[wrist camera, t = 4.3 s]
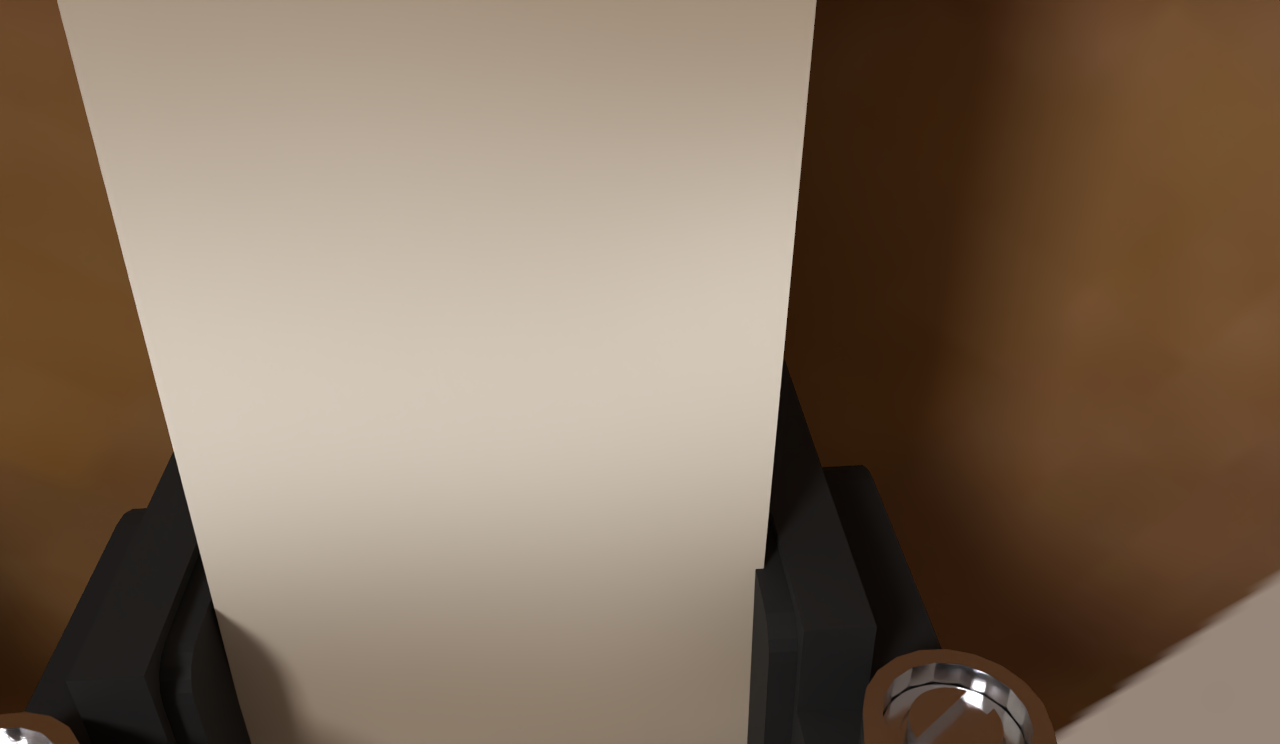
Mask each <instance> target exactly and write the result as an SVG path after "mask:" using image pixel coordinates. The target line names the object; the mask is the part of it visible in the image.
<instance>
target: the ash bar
mask: <svg viewBox="0 0 1280 744" xmlns="http://www.w3.org/2000/svg"><path fill="white" fill-rule="evenodd" d="M816 1H817V0H57V2H58V5H59V9H60V13H61V17H62V21H63V25H64V29H65V32H66V36H67V40H68V44H69V48H70V52H71V56H72V60H73V63H74V67H75V71H76V75H77V79H78V83H79V87H80V90H81V94H82V98H83V102H84V106H85V110H86V114H87V118H88V121H89V125H90V129H91V133H92V137H93V141H94V145H95V148H96V152H97V156H98V160H99V164H100V168H101V172H102V176H103V179H104V183H105V187H106V191H107V195H108V199H109V203H110V206H111V210H112V214H113V218H114V222H115V226H116V230H117V234H118V237H119V241H120V245H121V249H122V253H123V257H124V261H125V264H126V268H127V272H128V276H129V280H130V284H131V288H132V292H133V295H134V299H135V303H136V307H137V311H138V315H139V319H140V322H141V326H142V330H143V334H144V338H145V342H146V346H147V350H148V353H149V357H150V361H151V365H152V369H153V373H154V377H155V380H156V384H157V388H158V392H159V396H160V400H161V404H162V408H163V411H164V415H165V419H166V423H167V427H168V431H169V435H170V438H171V442H172V446H173V450H174V454H175V458H176V462H177V466H178V469H179V473H180V477H181V481H182V485H183V489H184V493H185V496H186V500H187V504H188V508H189V512H190V516H191V520H192V524H193V527H194V531H195V535H196V539H197V543H198V547H199V551H200V554H201V558H202V562H203V566H204V570H205V574H206V578H207V582H208V585H209V589H210V593H211V597H212V601H213V605H214V609H215V612H216V616H217V620H218V624H219V628H220V632H221V636H222V640H223V643H224V647H225V651H226V655H227V659H228V663H229V667H230V670H231V674H232V678H233V682H234V686H235V690H236V694H237V698H238V701H239V705H240V708H241V711H242V715H243V718H244V721H245V724H246V728H247V731H248V734H249V737H250V741H251V744H747V736H748V715H749V694H750V673H751V652H752V631H753V610H754V589H755V569H763V568H764V560H765V549H766V538H767V527H768V517H769V506H770V495H771V484H772V474H773V463H774V452H775V441H776V431H777V420H778V409H779V398H780V388H781V377H782V366H783V355H784V345H785V334H786V323H787V312H788V302H789V291H790V280H791V269H792V259H793V248H794V237H795V226H796V216H797V205H798V194H799V183H800V173H801V162H802V151H803V140H804V130H805V119H806V108H807V97H808V87H809V76H810V65H811V54H812V44H813V33H814V22H815V11H816Z"/></svg>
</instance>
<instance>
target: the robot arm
mask: <svg viewBox="0 0 1280 744" xmlns="http://www.w3.org/2000/svg"><path fill="white" fill-rule="evenodd" d="M0 744H251V741H250V737H249V734H248V731H247V728H246V724H245V721H244V718H243V715H242V711H241V708H240V705H239V701H238V698H237V694H236V690H235V686H234V682H233V678H232V674H231V670H230V667H229V663H228V659H227V655H226V651H225V647H224V643H223V640H222V636H221V632H220V628H219V624H218V620H217V616H216V612H215V609H214V605H213V601H212V597H211V593H210V589H209V585H208V582H207V578H206V574H205V570H204V566H203V562H202V558H201V554H200V551H199V547H198V543H197V539H196V535H195V531H194V527H193V524H192V520H191V516H190V512H189V508H188V504H187V500H186V496H185V493H184V489H183V485H182V481H181V477H180V473H179V469H178V466H177V462H176V458H175V454H174V452H173V454H172V456H171V458H170V460H169V462H168V464H167V467H166V469H165V471H164V473H163V475H162V477H161V479H160V481H159V484H158V486H157V488H156V490H155V492H154V494H153V496H152V499H151V501H150V503H149V505H148V507H147V508H143V509H132V510H130V511H128V512H127V513H125V514H124V515H123V516H122V518H121V519H120V521H119V522H118V524H117V525H116V527H115V530H114V532H113V534H112V536H111V538H110V540H109V542H108V544H107V546H106V548H105V550H104V552H103V554H102V556H101V558H100V560H99V562H98V564H97V566H96V568H95V570H94V572H93V574H92V576H91V578H90V580H89V582H88V584H87V586H86V588H85V590H84V592H83V594H82V596H81V598H80V600H79V602H78V604H77V606H76V608H75V610H74V612H73V614H72V616H71V619H70V621H69V623H68V625H67V627H66V629H65V631H64V633H63V635H62V637H61V639H60V641H59V643H58V645H57V647H56V649H55V651H54V653H53V655H52V657H51V659H50V661H49V663H48V665H47V667H46V669H45V671H44V673H43V675H42V677H41V679H40V681H39V683H38V685H37V687H36V689H35V691H34V693H33V695H32V697H31V699H30V701H29V703H28V705H27V708H26V710H25V712H20V713H10V714H0ZM747 744H1057V742H1056V737H1055V733H1054V729H1053V725H1052V723H1051V720H1050V718H1049V716H1048V713H1047V711H1046V709H1045V706H1044V704H1043V702H1042V701H1041V700H1040V699H1039V698H1038V696H1037V695H1036V694H1035V693H1034V692H1033V691H1032V689H1031V688H1030V687H1029V686H1028V685H1027V684H1026V682H1024V681H1023V680H1021V679H1020V678H1019V677H1017V676H1016V675H1014V674H1013V673H1012V672H1010V671H1009V670H1007V669H1006V668H1005V667H1003V666H1002V665H999V664H997V663H994V662H992V661H990V660H987V659H985V658H983V657H980V656H978V655H976V654H971V653H965V652H960V651H955V650H950V649H941V647H940V644H939V642H938V639H937V637H936V634H935V632H934V629H933V627H932V624H931V622H930V619H929V617H928V614H927V612H926V609H925V607H924V605H923V602H922V600H921V597H920V595H919V592H918V590H917V587H916V585H915V582H914V580H913V577H912V575H911V572H910V570H909V567H908V565H907V562H906V560H905V557H904V555H903V553H902V550H901V548H900V545H899V543H898V540H897V538H896V535H895V533H894V530H893V528H892V525H891V523H890V520H889V518H888V515H887V513H886V510H885V508H884V505H883V503H882V500H881V498H880V496H879V493H878V491H877V488H876V486H875V483H874V481H873V478H872V476H871V475H870V473H869V471H868V469H867V468H866V467H864V466H863V465H857V466H840V467H823V468H822V467H821V464H820V461H819V458H818V455H817V452H816V449H815V447H814V444H813V441H812V438H811V435H810V432H809V429H808V426H807V423H806V421H805V418H804V415H803V412H802V409H801V406H800V403H799V400H798V397H797V395H796V392H795V389H794V386H793V383H792V380H791V377H790V374H789V371H788V368H787V366H786V363H785V360H784V357H783V366H782V377H781V388H780V398H779V409H778V420H777V431H776V441H775V452H774V463H773V474H772V484H771V495H770V506H769V517H768V527H767V538H766V549H765V560H764V568H763V569H755V589H754V610H753V631H752V652H751V673H750V694H749V715H748V736H747Z"/></svg>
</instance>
